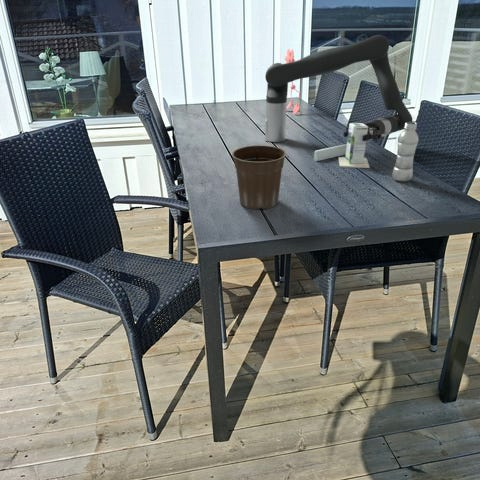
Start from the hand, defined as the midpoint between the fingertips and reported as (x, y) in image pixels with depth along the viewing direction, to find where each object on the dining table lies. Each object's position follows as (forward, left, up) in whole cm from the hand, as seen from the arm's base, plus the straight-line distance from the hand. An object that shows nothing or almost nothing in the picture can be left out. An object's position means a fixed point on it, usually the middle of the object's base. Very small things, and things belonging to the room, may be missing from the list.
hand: (353, 136), depth 161 cm
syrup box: (+1, +1, -10) cm, 11 cm away
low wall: (-5, +10, -11) cm, 16 cm away
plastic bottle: (+16, -17, -11) cm, 26 cm away
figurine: (-29, +92, -11) cm, 97 cm away
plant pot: (-32, -42, -11) cm, 54 cm away
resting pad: (+1, +1, -11) cm, 11 cm away
